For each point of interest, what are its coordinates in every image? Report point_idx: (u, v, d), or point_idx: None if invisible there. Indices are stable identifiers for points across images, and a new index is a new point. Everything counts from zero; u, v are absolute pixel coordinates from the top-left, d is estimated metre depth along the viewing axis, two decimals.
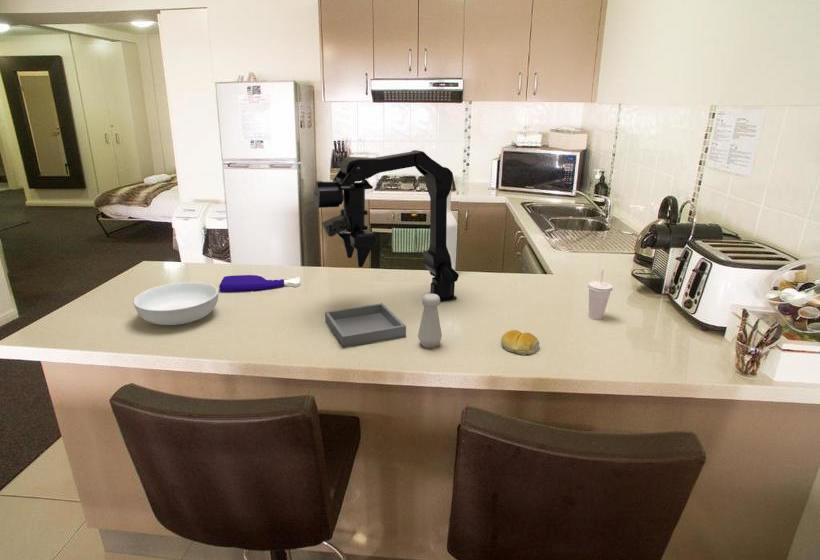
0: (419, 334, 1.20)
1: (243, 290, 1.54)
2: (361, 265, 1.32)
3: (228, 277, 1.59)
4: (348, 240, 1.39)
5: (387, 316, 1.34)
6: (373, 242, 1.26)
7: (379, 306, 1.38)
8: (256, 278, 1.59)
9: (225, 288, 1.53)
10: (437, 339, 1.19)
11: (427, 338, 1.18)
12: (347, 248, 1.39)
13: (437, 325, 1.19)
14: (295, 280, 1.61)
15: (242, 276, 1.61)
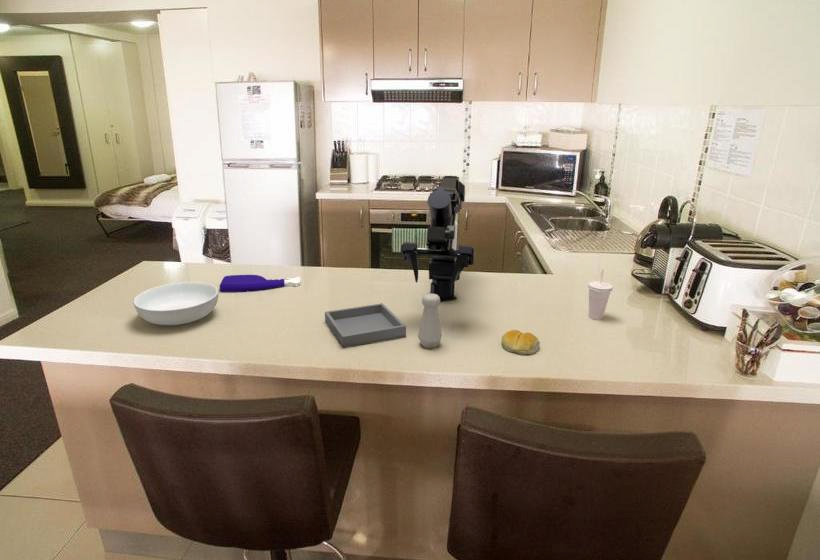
0: (419, 334, 1.20)
1: (243, 290, 1.54)
2: (454, 282, 1.24)
3: (228, 277, 1.60)
4: (417, 263, 1.27)
5: (387, 316, 1.34)
6: (473, 261, 1.28)
7: (379, 306, 1.38)
8: (257, 278, 1.60)
9: (226, 288, 1.53)
10: (437, 339, 1.19)
11: (427, 338, 1.18)
12: (416, 270, 1.26)
13: (437, 325, 1.19)
14: (295, 280, 1.61)
15: (242, 275, 1.61)
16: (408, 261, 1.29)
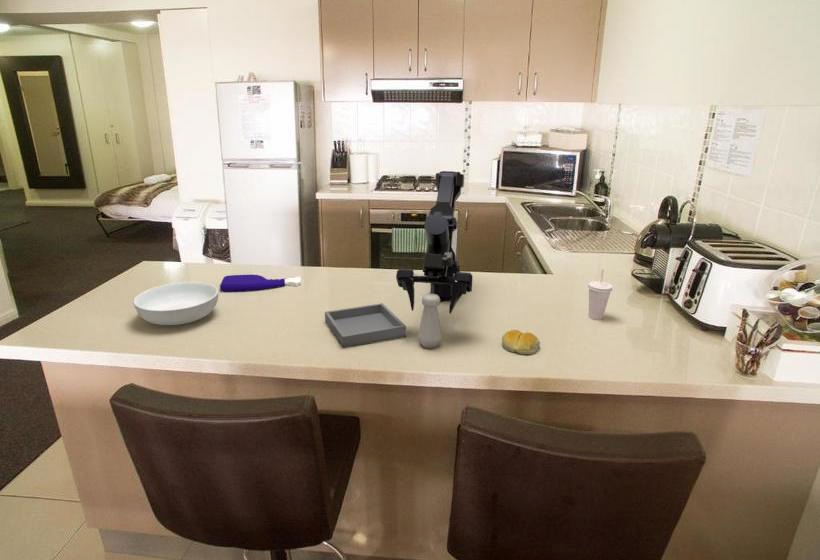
0: (419, 334, 1.20)
1: (244, 289, 1.54)
2: (451, 311, 1.19)
3: (228, 277, 1.60)
4: (413, 291, 1.22)
5: (387, 316, 1.34)
6: (471, 288, 1.23)
7: (379, 306, 1.38)
8: (257, 278, 1.60)
9: (226, 288, 1.53)
10: (437, 339, 1.19)
11: (427, 338, 1.18)
12: (413, 298, 1.21)
13: (437, 325, 1.19)
14: (296, 279, 1.61)
15: (242, 275, 1.61)
16: (404, 288, 1.25)
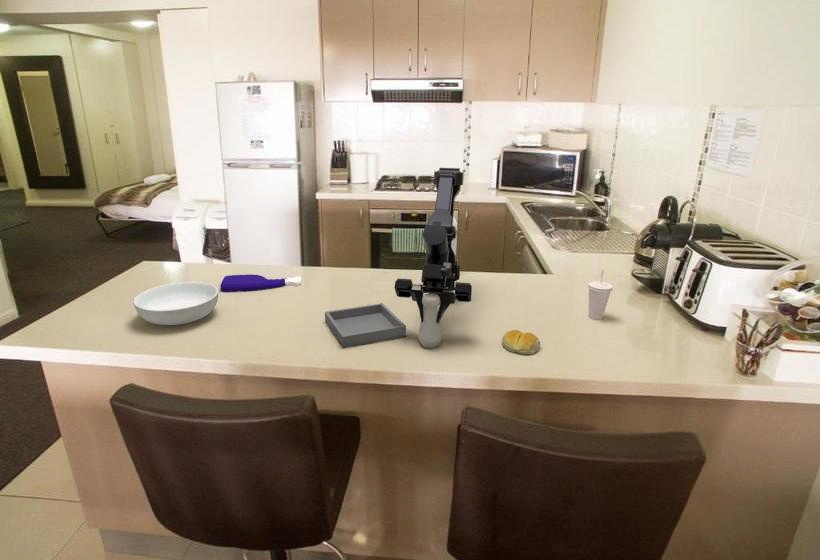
0: (419, 334, 1.20)
1: (244, 289, 1.54)
2: (439, 321, 1.18)
3: (229, 277, 1.60)
4: None
5: (387, 316, 1.34)
6: None
7: (379, 306, 1.38)
8: (257, 278, 1.60)
9: (227, 288, 1.53)
10: (437, 339, 1.19)
11: (427, 338, 1.18)
12: (422, 309, 1.19)
13: (437, 325, 1.19)
14: (296, 279, 1.62)
15: (243, 275, 1.62)
16: (414, 298, 1.23)
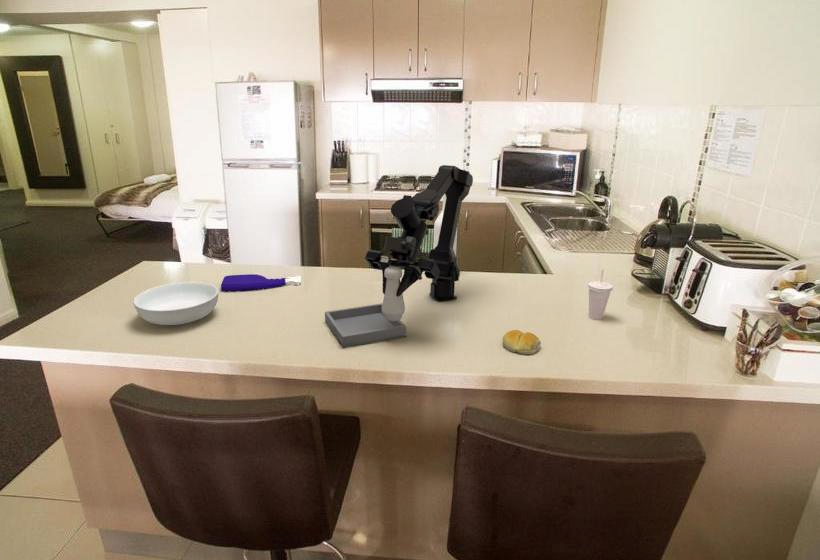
0: (382, 306, 1.22)
1: (245, 289, 1.54)
2: (399, 294, 1.19)
3: (229, 277, 1.60)
4: None
5: None
6: (437, 276, 1.20)
7: (379, 306, 1.38)
8: (257, 277, 1.60)
9: (227, 288, 1.53)
10: (397, 312, 1.19)
11: (386, 310, 1.20)
12: None
13: (398, 299, 1.19)
14: (296, 278, 1.62)
15: (243, 275, 1.62)
16: None
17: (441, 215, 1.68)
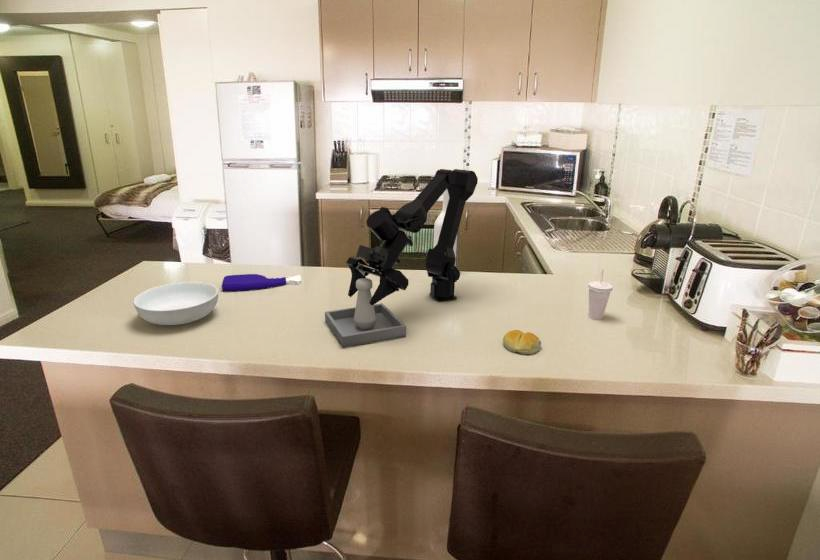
0: None
1: (246, 289, 1.55)
2: (373, 303, 1.23)
3: (229, 277, 1.60)
4: None
5: (387, 316, 1.34)
6: (405, 287, 1.23)
7: (379, 306, 1.38)
8: (258, 277, 1.61)
9: (228, 288, 1.53)
10: (364, 321, 1.26)
11: (355, 318, 1.27)
12: (353, 285, 1.29)
13: (366, 309, 1.26)
14: (296, 278, 1.63)
15: (243, 275, 1.62)
16: None
17: (441, 215, 1.68)
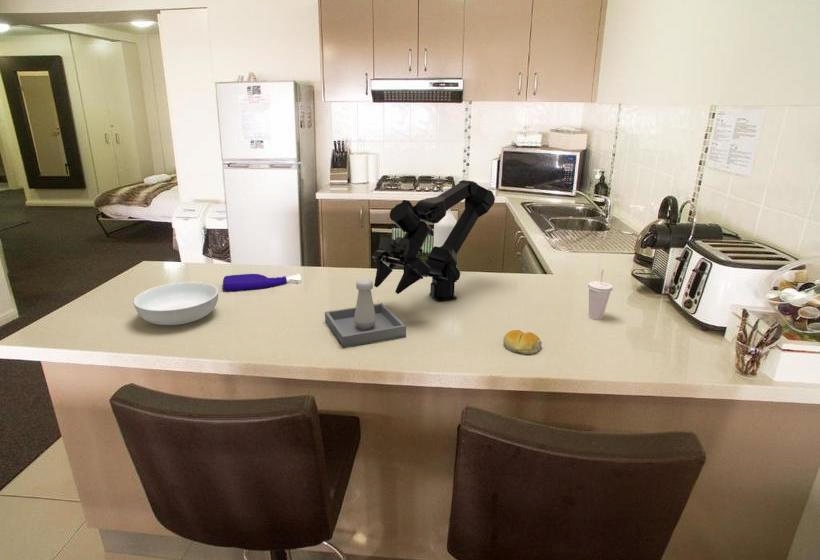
0: None
1: (248, 289, 1.55)
2: (398, 292, 1.29)
3: (229, 277, 1.60)
4: (383, 270, 1.37)
5: (387, 316, 1.34)
6: (426, 274, 1.28)
7: (379, 306, 1.38)
8: (258, 277, 1.61)
9: (230, 287, 1.54)
10: (364, 322, 1.26)
11: (356, 318, 1.27)
12: (379, 276, 1.36)
13: (366, 309, 1.26)
14: (297, 277, 1.64)
15: (243, 275, 1.62)
16: None
17: None
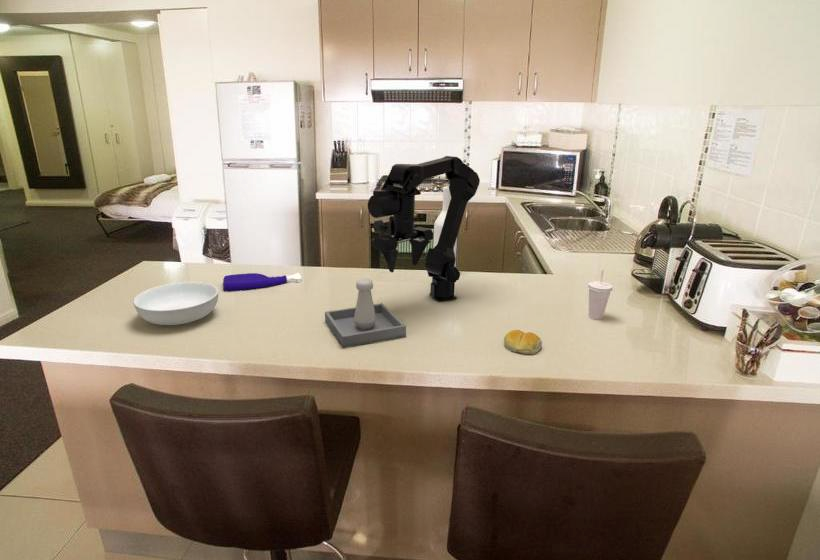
0: None
1: (249, 288, 1.56)
2: (391, 270, 1.33)
3: (229, 276, 1.60)
4: (415, 247, 1.39)
5: (387, 316, 1.34)
6: (383, 249, 1.26)
7: (379, 306, 1.38)
8: (258, 276, 1.62)
9: (231, 287, 1.54)
10: (364, 322, 1.26)
11: (356, 318, 1.27)
12: (413, 254, 1.39)
13: (366, 309, 1.26)
14: (297, 276, 1.65)
15: (242, 274, 1.62)
16: None
17: (441, 215, 1.68)
